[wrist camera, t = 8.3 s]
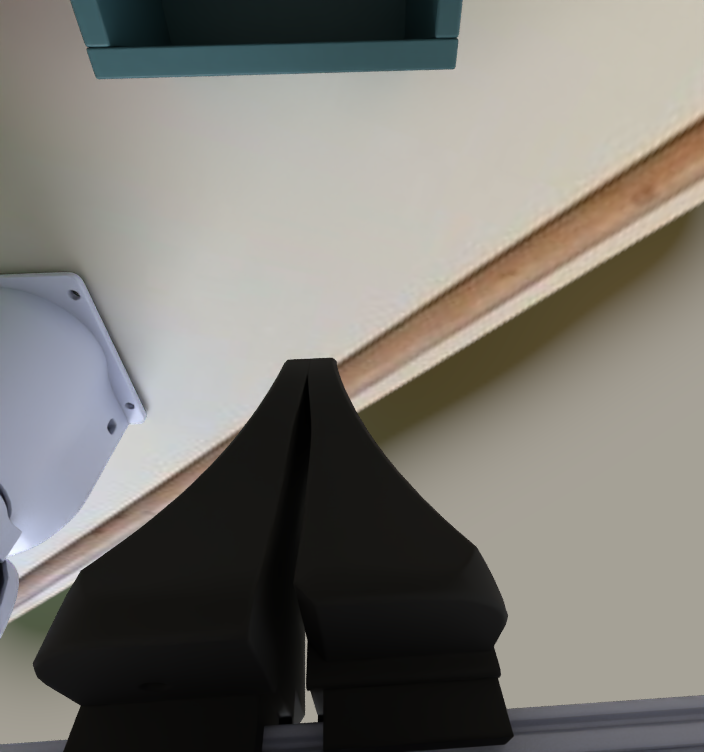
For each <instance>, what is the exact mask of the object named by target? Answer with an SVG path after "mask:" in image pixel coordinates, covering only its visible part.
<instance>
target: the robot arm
mask: <svg viewBox="0 0 704 752" xmlns="http://www.w3.org/2000/svg"><path fill="white" fill-rule="evenodd" d="M72 290H74V291H76V292H78V294H79V295H80V296H77V295H75V294H74V293H73V292H72ZM129 403H132V404H133V405H132V404H129ZM146 417H147V414H146V412H145V410H144V408H143V406H142V404H141V401H140V399H139V397H138V395H137V393H136V391H135V389H134V387H133V385H132V383H131V380H130V378H129V376H128V374H127V372H126V370H125V368H124V366H123V364H122V361H121V359H120V357H119V355H118V353H117V351H116V349H115V347H114V345H113V343H112V340H111V338H110V336H109V334H108V332H107V330H106V328H105V326H104V324H103V321H102V319H101V317H100V315H99V313H98V311H97V309H96V307H95V305H94V303H93V300H92V298H91V296H90V294H89V292H88V290H87V288H86V286H85V284H84V282H83V280H82V279H81V277H79V276H78V275H77V274H75V273H72V272H51V273H26V274H2V275H0V638H1V636H2V634H3V632H4V630H5V628H6V626H7V623H8V621H9V618H10V615H11V613H12V611H13V608H14V604H15V601H16V598H17V593H18V587H19V577H18V572H17V570H16V567H15V566H14V565H13V564H12V563H11V562H10V561H9V560H8V559H6V557H10V556H13V555H16V554H19V553H22V552H24V551H26V550H29V549H31V548H33V547H35V546H37V545H39V544H41V543H42V542H44V541H46V540H47V539H48V538H50V537H51V536H53V535H54V534H55V533H57V532H58V531H59V530H60V529H62V528H63V527H64V526H65V525H66V524H67V523H68V522H69V521H70V520H71V519H72V518H73V517H74V516H75V515H76V514H77V513H78V512H79V510H80V509H81V508H82V506H83V505H84V503H85V502H86V500H87V498H88V497H89V495H90V493H91V491H92V489H93V488H94V486H95V484H96V482H97V480H98V479H99V477H100V475H101V473H102V471H103V470H104V468H105V466H106V464H107V462H108V461H109V459H110V457H111V455H112V453H113V452H114V450H115V448H116V446H117V444H118V443H119V441H120V439H121V437H122V436H123V434H124V432H125V430H126V428H127V427H128V425H129V424H141V423H143V422H144V421H145V419H146ZM507 618H508V614H507V611H506V608H505V604H504V601H503V598H502V596H501V594H500V591H499V589H498V587H497V585H496V582H495V580H494V578H493V576H492V574H491V572H490V570H489V568H488V566H487V564H486V562H485V561H484V559H483V557H482V555H481V554H480V552H479V550H478V548H477V547H476V546H475V545H474V544H472V543H471V542H470V541H469V540H468V539H467V538H465V537H464V536H463V535H462V534H461V533H459V532H458V531H457V530H456V529H455V528H454V527H453V526H452V525H451V524H449V523H448V522H447V521H446V520H445V519H444V518H443V517H442V516H441V515H440V514H439V513H438V512H437V511H436V510H435V509H433V507H431V506H430V505H429V504H428V503H427V502H426V501H425V500H424V499H423V498H422V497H421V496H420V495H419V493H418V492H417V491H416V490H415V489H414V488H413V487H412V486H411V485H410V484H409V482H408V481H407V480H406V479H405V478H404V477H403V476H402V475H401V474H400V473H399V472H398V471H397V469H396V468H395V467H394V465H393V464H392V463H391V462H390V461H389V459H388V458H387V457H386V456H385V454H384V453H383V451H382V450H381V449H380V447H379V446H378V445H377V443H376V442H375V441H374V439H373V438H372V436H371V435H370V433H369V432H368V430H367V428H366V427H365V425H364V424H363V422H362V420H361V419H360V417H359V415H358V414H357V412H356V410H355V408H354V406H353V404H352V402H351V400H350V398H349V396H348V394H347V392H346V390H345V388H344V385H343V383H342V380H341V378H340V375H339V372H338V368H337V361H336V360H335V359H333V358H314V359H293V360H287V361H286V362H285V363H284V365H283V367H282V369H281V371H280V373H279V374H278V376H277V378H276V380H275V382H274V383H273V385H272V387H271V388H270V390H269V391H268V393H267V395H266V396H265V398H264V399H263V401H262V402H261V404H260V405H259V407H258V408H257V410H256V411H255V412H254V414H253V415H252V417H251V418H250V419H249V421H248V422H247V423H246V424H245V426H244V427H243V428H242V430H241V431H240V432H239V434H238V435H237V436H236V437H235V439H234V440H233V441H232V442H231V443H230V445H229V446H228V447H227V448H226V449H225V450H224V451H223V453H222V454H221V455H220V456H219V457H218V458H217V459H216V460H215V461H214V462H213V463H212V465H211V466H210V467H209V468H208V469H207V470H206V471H204V472H203V473H202V474H201V475H200V476H199V477H198V478H197V479H196V480H195V481H194V482H193V483H192V484H191V485H190V486H189V487H188V488H187V489H186V490H185V491H184V492H183V493H182V494H181V495H179V496H178V497H177V498H176V499H175V500H174V501H172V502H171V503H170V504H169V505H168V506H166V507H165V508H164V509H163V510H162V511H161V512H159V513H158V514H157V515H156V516H155V517H153V518H152V519H151V520H150V521H149V522H147V523H146V524H145V525H144V526H142V527H141V528H140V529H138V530H137V531H136V532H134V533H133V534H132V535H130V536H129V537H128V538H126V539H125V540H124V541H122V542H121V543H119V544H118V545H117V546H115V547H114V548H112V549H111V550H110V551H108V552H107V553H105V554H104V555H103V556H101V557H100V558H98V559H97V560H96V561H94V562H93V563H91V564H90V565H88V566H87V567H85V568H84V569H83V570H81V571H80V573H79V575H78V577H77V578H76V580H75V582H74V583H73V585H72V587H71V588H70V590H69V592H68V593H67V595H66V597H65V599H64V601H63V603H62V605H61V607H60V609H59V611H58V613H57V615H56V617H55V619H54V621H53V623H52V625H51V627H50V629H49V631H48V633H47V636H46V637H45V640H44V642H43V644H42V646H41V648H40V650H39V652H38V654H37V656H36V658H35V660H34V662H33V667H34V670H35V673H36V675H37V677H38V678H39V679H40V680H41V681H42V682H43V683H45V684H46V685H47V686H49V687H51V688H52V689H54V690H56V691H57V692H59V693H61V694H62V695H64V696H66V697H68V698H69V699H71V700H72V701H74V702H76V703H77V704H79V705H81V707H80V709H79V712H78V714H77V717H76V719H75V722H74V725H73V728H72V730H71V732H70V735H69V738H68V740H57V741H43V742H28V743H14V744H0V752H704V695H699V696H686V697H685V696H684V697H671V698H657V699H641V700H627V701H613V702H598V703H585V704H571V705H557V706H541V707H527V708H513V709H506V706H505V702H504V698H503V695H502V691H501V688H500V684H499V681H498V678H499V677H500V676H501V672H500V667H499V663H498V659H497V656H496V652H495V649H494V645H495V643H496V641H497V639H498V638H499V636H500V634H501V632H502V630H503V629H504V627H505V625H506V622H507ZM305 632H306V636H307V640H308V644H307V674H306V675H307V676H306V688H307V690H308V691H311V694H312V698H313V701H314V704H315V708H316V711H317V714H318V722H313V723H300V722H301V720H302V719H303V717H304V715H305Z"/></svg>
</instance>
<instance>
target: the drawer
mask: <svg viewBox="0 0 704 752" xmlns="http://www.w3.org/2000/svg"><path fill="white" fill-rule="evenodd" d="M70 1H71V4H72V7H73V10H74V13H75V16H76V19H77V22H78V25H79V28H80V31H81V34H82V37H83V40H84V43H85V45H86V46H87V47H89V48H87V53H88V56H89V59H90V62H91V65H92V68H93V71H94V74H95V76H96V78H97V79H123V78H158V77H194V76H230V75H265V74H301V73H336V72H372V71H407V70H443V69H454V68H455V67H456V58H457V49H458V39H457V37H458V35H459V29H460V20H461V10H462V1H463V0H70Z"/></svg>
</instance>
